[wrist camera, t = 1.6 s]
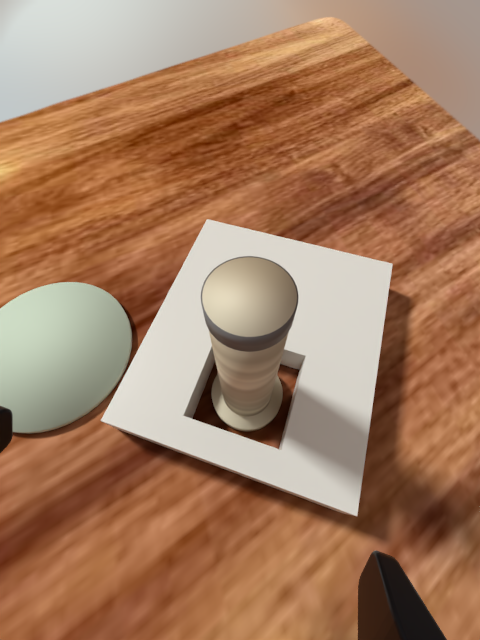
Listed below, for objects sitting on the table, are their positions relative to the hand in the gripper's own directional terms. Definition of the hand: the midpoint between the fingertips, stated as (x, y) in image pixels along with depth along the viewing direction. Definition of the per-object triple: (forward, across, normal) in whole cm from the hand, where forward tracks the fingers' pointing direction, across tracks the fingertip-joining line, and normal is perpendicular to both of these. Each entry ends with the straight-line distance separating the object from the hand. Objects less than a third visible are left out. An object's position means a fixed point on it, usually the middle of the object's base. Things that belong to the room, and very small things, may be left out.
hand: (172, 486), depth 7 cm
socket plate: (+15, 0, +2) cm, 15 cm away
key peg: (+13, 0, +5) cm, 14 cm away
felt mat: (+12, +14, +6) cm, 19 cm away
